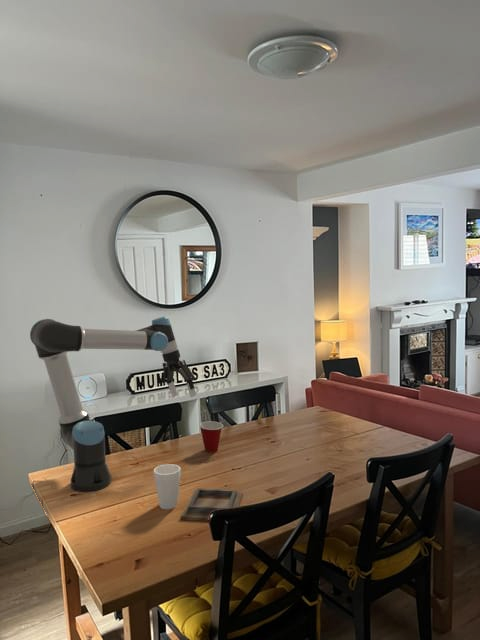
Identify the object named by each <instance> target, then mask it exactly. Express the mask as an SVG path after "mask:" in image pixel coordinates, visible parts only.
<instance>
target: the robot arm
mask: <svg viewBox="0 0 480 640" xmlns="http://www.w3.org/2000/svg"><path fill="white" fill-rule="evenodd" d="M29 338H30V341H31V343H32V344H33V345H34V347H35V350H36V353H37V356H38V359H39V360H43V361H44V364H45V367H46V370H47V374H48V378H49V381H50V384H51V387H52V390H53V394H54V397H55V401H56V404H57V407H58V410H59V413H60V418H58V423H59V428H60V429H59V433H60V437H61V439H62V441H63V442H64V443H65V444H66V445H67V446H68V447H70V449H71V450H72V451H73V462H74V467H73V471H72V473H71V478H70V488H71V489H72V490H74V491H76V492H85V493H87V492H94V491H98V490H102V489H103V488H104V489H105V488H106V487H108V486H109V485H110V484H111V483H112V476H111V473H110V469H109V467H108V464H107V461H106V460H107V459H106V441H105V440H106V438H105V435H106V433H105V429H104V425H103V423H101V422H98V421H94V420H91V418H90V415H89V413H88V410H86V409H84V408H83V406H82V403H81V399H80V395H79V393H78V389H77V386H76V382H75V380H74V376H73V372H72V368H71V366H70V362H69V359H68V355H67V353H68V352H80V351H81V350H82V349H84V350H140V351H141V350H144V351H145V350H146V351H155V352H160V353H161V356H162V359H163V363H162V367H163V370H162V371H163V383H166V384H167V386H168V389H169V391H170V395H171V397H172V398H175V397H177V396H178V395H179V394H178V392H177V388H176V385H175V382H174V380H173V378H174V373H179V374H180V376H181V377H182V378H183V379H184V381H186V387H187V390H188V393H189V397H190V398H194V397H195V396H197V393H196V389H195V385H194V382H193V381H195V380H196V378H195V376H194V374H193V372H192V371H191V369H190V367H189V366H188V364H187V363H186V360H185V359H182V360H180V359H181V354H180V351H179V350H180V349H178V347H179V346H178V345H177V341H176V337H175V334H174V331H173V327H172V324H171V322H170V319H169V318H168V316H165V315H164V316H161V317H157V318H154V319H152V320H151V325H149V326H147V327H143V328H141V329H140V328H139V329H137V330H122V329H101V328H99V329H95V328H94V329H93V328H91V329H90V328H83V327H81V325H71V324H67V323H64V322H60V321H56V320H55V319H52V318H45V319H40V320H38V321H37V322H35V323H34V324H33V325H32V327H31V329H30V332H29Z"/></svg>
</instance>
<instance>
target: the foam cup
mask: <svg viewBox="0 0 480 640" xmlns="http://www.w3.org/2000/svg"><path fill="white" fill-rule="evenodd" d="M181 469H182V468H181V466H179V464H178V465H177V464H173V463H172V464H169V463H166V464H161V465H158V466H156V467H155V468H153V479H154V483H155V489H156V494H157V501H158V505H159V508H161V509H163V510H171V509H175V508H176V507H177V506H178V504H179V493H180V483H181V475H182V473H181V472H182V471H181Z"/></svg>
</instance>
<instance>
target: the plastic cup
mask: <svg viewBox="0 0 480 640" xmlns="http://www.w3.org/2000/svg"><path fill="white" fill-rule="evenodd" d="M199 428H200V433H201V436H202V437H201V438H202V442H203V445H204V446H203V447H204V450H205V452H207V453H214V452H217V451H218V450H219V444H220V439H221V433H222V429H223V428H224V424H222V423H221V422H218V421H211V420H209V421H202V422H200V423H199Z"/></svg>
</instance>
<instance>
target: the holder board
mask: <svg viewBox="0 0 480 640" xmlns="http://www.w3.org/2000/svg"><path fill="white" fill-rule="evenodd" d="M243 496H244V492H243V491H238V490H237V489H225V488H224V489H223V488H222V489H221V488H218V489H217V488H196V490H195V489H194V490H193V491H192V494H191V496H190V498H189V500H188V501H187V503H186V505H185V507H184V509H183V511H182V513H181V514H180V520H182V521H201V522H203V521H205V522H207V521H208V518H209V515H210V513H211V512H212V511H214V510H217V509H226V508H233V507H239V508H240V506H241V502H242V499H243ZM208 522H209V521H208Z"/></svg>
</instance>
